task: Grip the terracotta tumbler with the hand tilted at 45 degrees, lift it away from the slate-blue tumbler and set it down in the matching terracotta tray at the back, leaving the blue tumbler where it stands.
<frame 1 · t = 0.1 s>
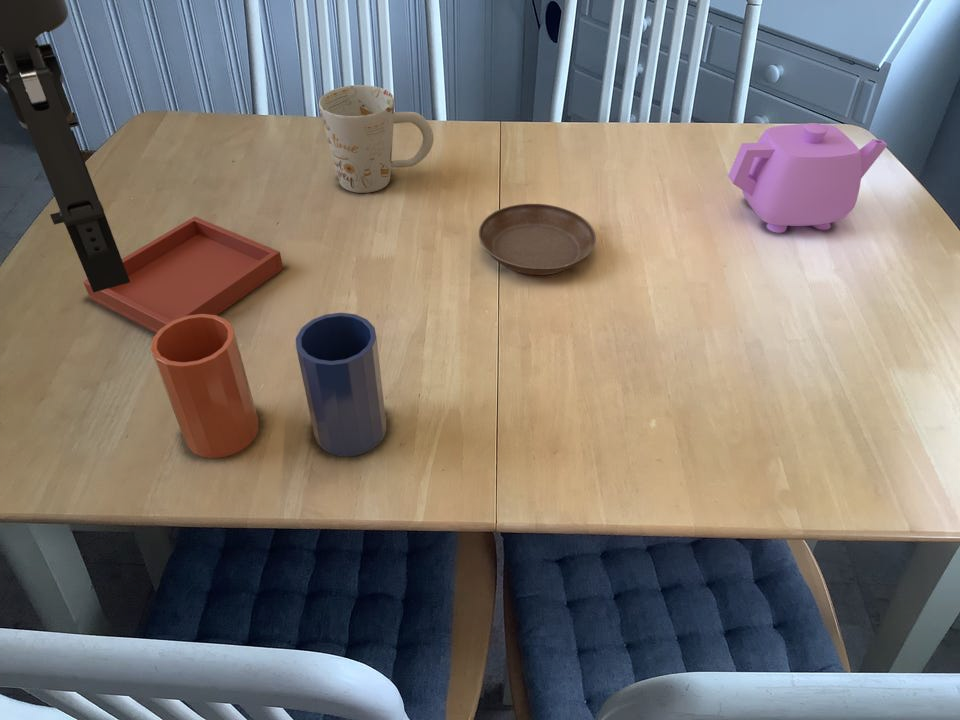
hand: (96, 242, 64), 21 cm above the table, tool pointing down, fingers open, 13 cm apart
mug: (382, 180, 114), on the table
teapot: (790, 214, 107), on the table
blue tumbler: (350, 429, 77), on the table
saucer: (535, 252, 100), on the table
red tray: (189, 283, 94), on the table
terracotta tumbler: (222, 431, 77), on the table
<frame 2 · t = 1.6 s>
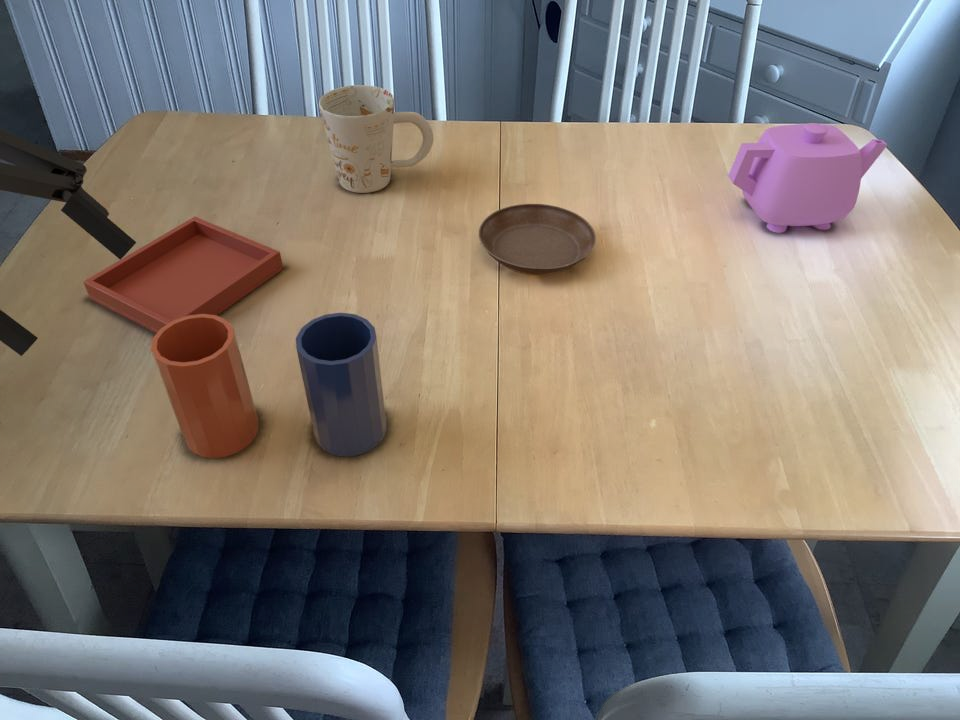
hand: (82, 296, 68), 15 cm above the table, tool tilted 45°, fingers open, 13 cm apart
nothing on the table moved.
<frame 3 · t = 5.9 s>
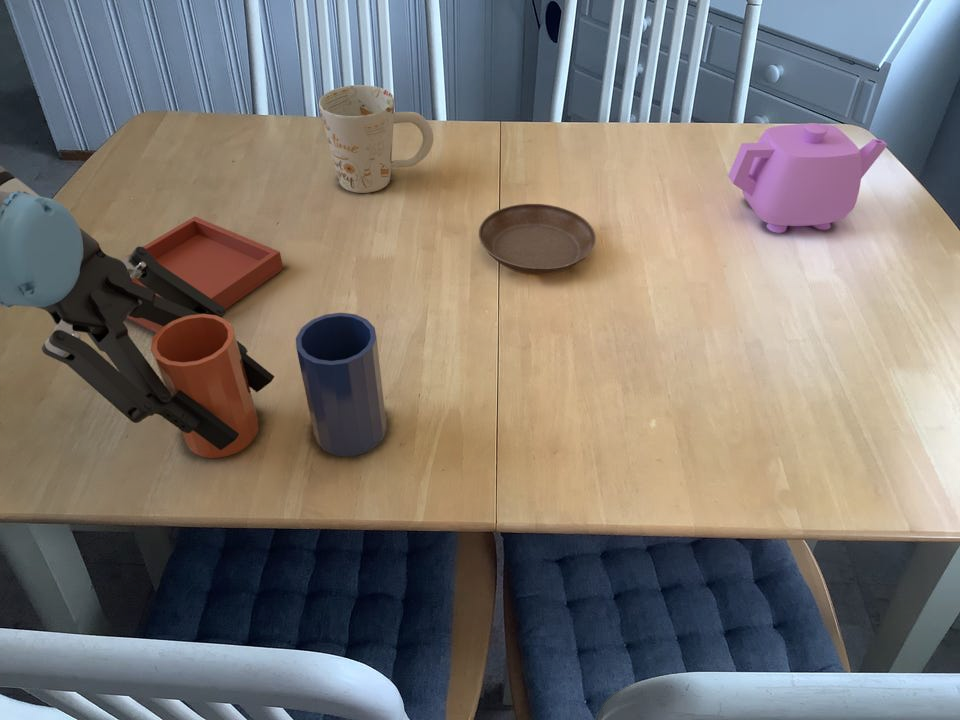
hand: (248, 412, 74), 4 cm above the table, tool tilted 45°, fingers closed on terracotta tumbler, 7 cm apart
terracotta tumbler: (222, 431, 77), on the table, touching gripper
everything else where it was.
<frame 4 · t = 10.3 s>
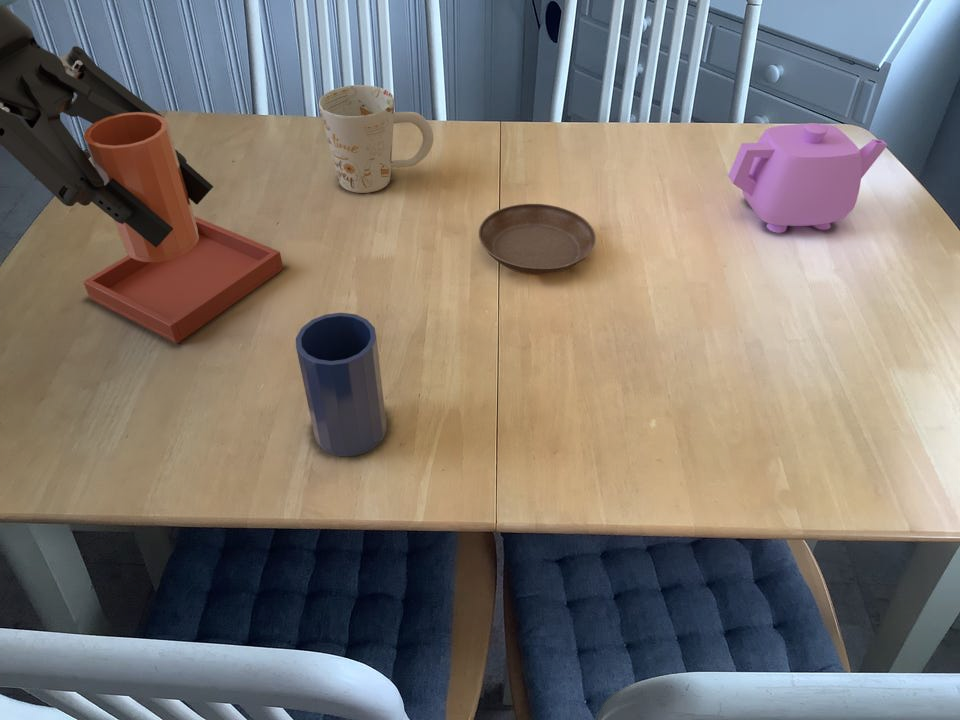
hand: (185, 216, 74), 17 cm above the table, tool tilted 45°, fingers closed on terracotta tumbler, 7 cm apart
terracotta tumbler: (162, 242, 77), point 13 cm above the table, touching gripper
everything else where it was.
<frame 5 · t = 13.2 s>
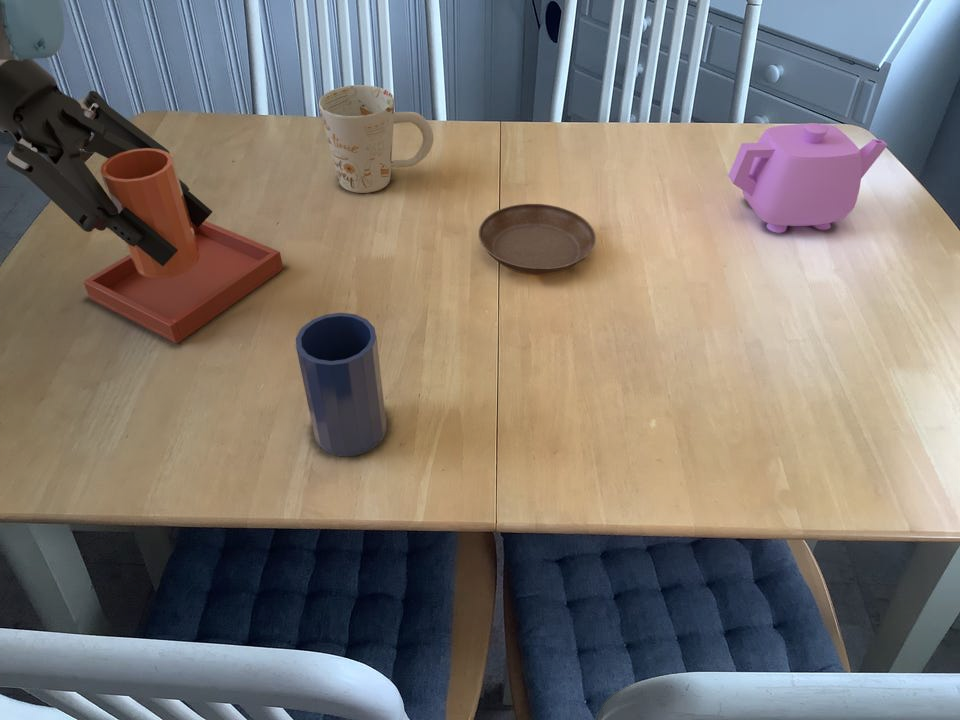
hand: (188, 238, 85), 9 cm above the table, tool tilted 45°, fingers closed on terracotta tumbler, 7 cm apart
terracotta tumbler: (167, 260, 88), point 6 cm above the table, touching gripper
everything else where it was.
when the fingers open (4 cm above the table, at t = 15.1 s): terracotta tumbler stays where it is, resting on red tray.
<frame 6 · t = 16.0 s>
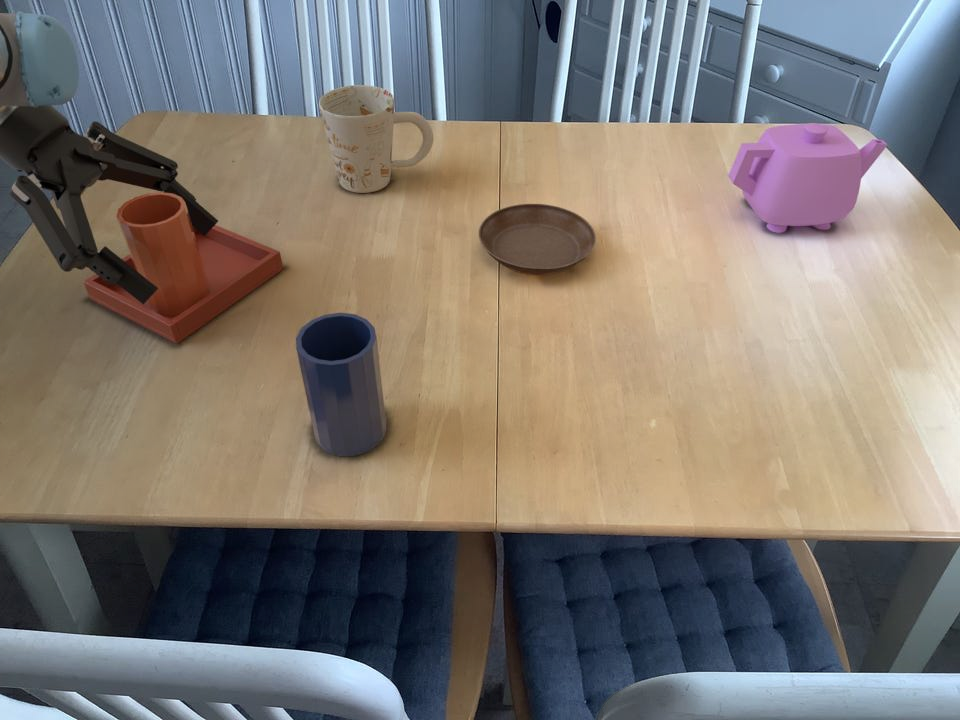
hand: (183, 260, 87), 6 cm above the table, tool tilted 45°, fingers open, 13 cm apart
terracotta tumbler: (179, 297, 91), point 1 cm above the table, touching red tray
everything else where it was.
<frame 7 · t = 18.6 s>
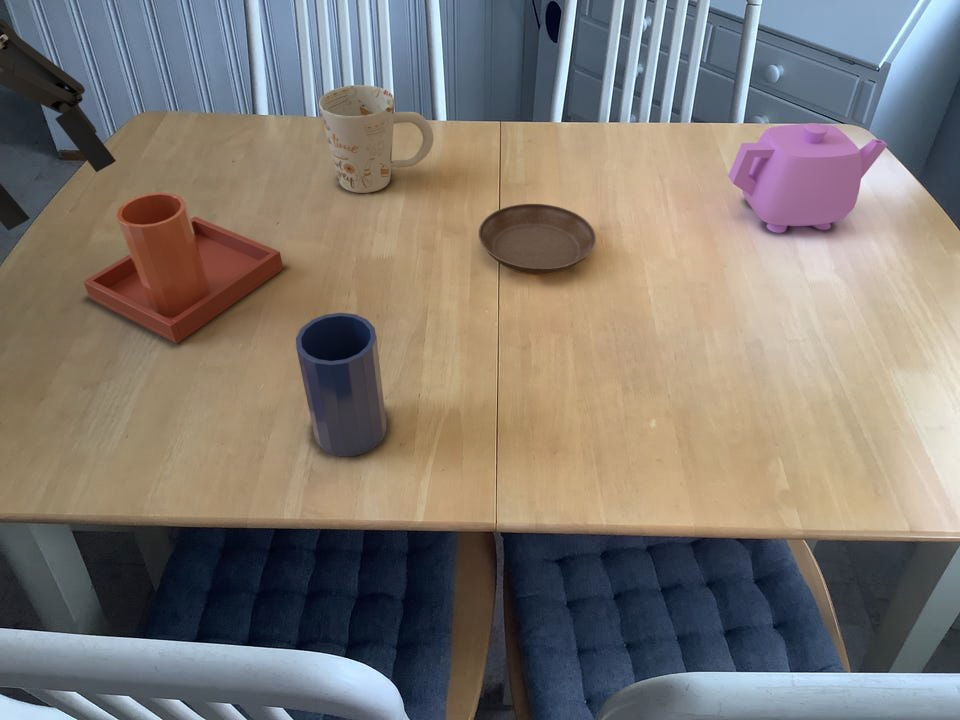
hand: (65, 194, 80), 16 cm above the table, tool tilted 30°, fingers open, 13 cm apart
nothing on the table moved.
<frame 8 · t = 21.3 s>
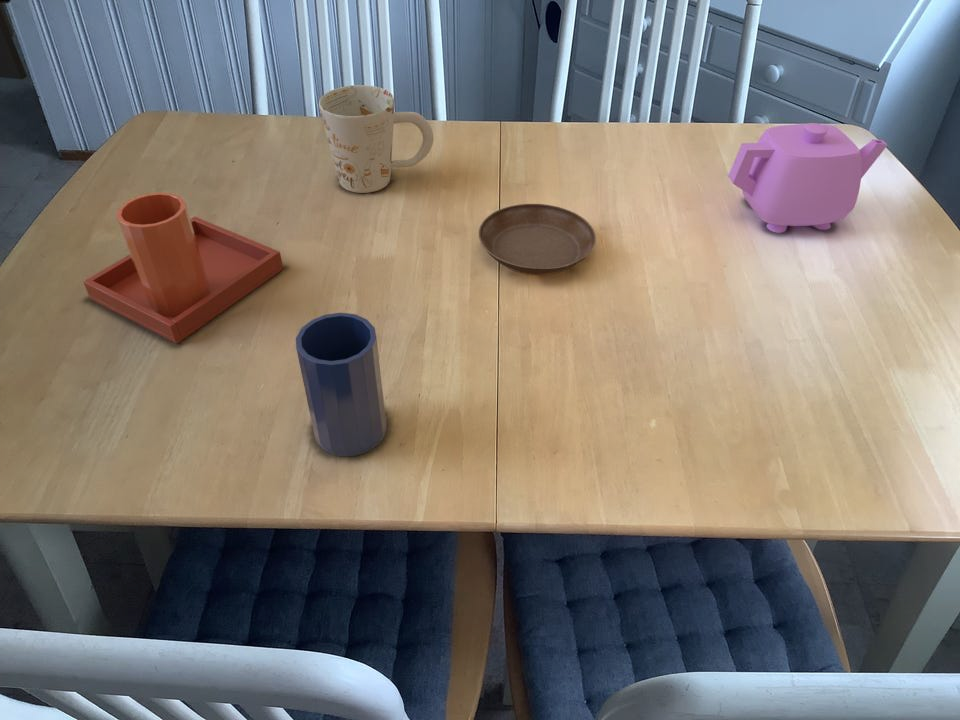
nothing on the table moved.
at the end: terracotta tumbler inside the target area in the red tray (3.6 cm from its centre), point 0.6 cm above the red tray's base; terracotta tumbler tilted 0°; blue tumbler moved 0.0 cm from its start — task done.
